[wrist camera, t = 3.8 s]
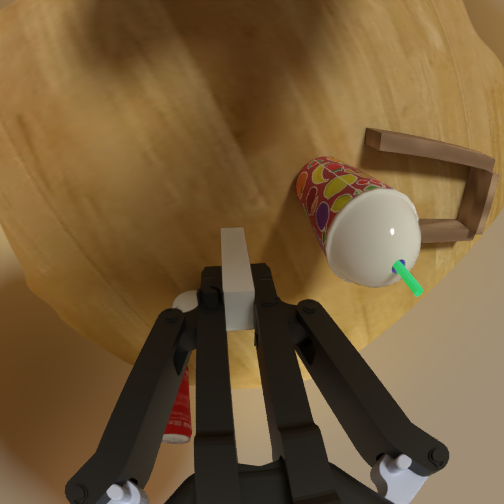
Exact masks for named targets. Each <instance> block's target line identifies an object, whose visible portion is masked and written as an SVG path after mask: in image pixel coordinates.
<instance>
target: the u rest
mask: <svg viewBox="0 0 504 504" xmlns="http://www.w3.org/2000/svg"><path fill="white" fill-rule="evenodd" d="M365 144H367V145H369V146H371V147H373V148H375V149H377V150H379V151H387V152H395V153H402V154H409V155H416V156H422V157H428V158H433V159H439V160H444V161H449V162H454V163H459V164H463V165H468V166H470V170H469V175H468V179H467V183H466V188H465V192H464V196H463V200H462V203H461V207H460V211H459V214H458V217H457V219H418V223H419V227H420V230H421V243H434V242H452V241H470V240H473V238H474V236H475V234H482V233H483V231H484V228H485V225H486V222H487V218H488V215H489V212H490V209H491V205H492V202H493V198H494V194H495V190H496V186H497V182H498V178H499V175H498V174H496V173H494V172H493V167H494V162H495V159H493V158H491V157H489V156H487V155H485V154H483V153H481V152H478V151H474V150H471V149H467V148H464V147H460V146H457V145H453V144H449V143H445V142H441V141H437V140H432V139H428V138H423V137H419V136H414V135H409V134H403V133H398V132H392V131H386V130H379V129H373V128H366V138H365Z"/></svg>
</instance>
